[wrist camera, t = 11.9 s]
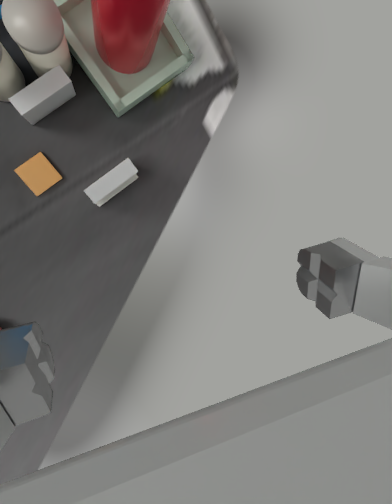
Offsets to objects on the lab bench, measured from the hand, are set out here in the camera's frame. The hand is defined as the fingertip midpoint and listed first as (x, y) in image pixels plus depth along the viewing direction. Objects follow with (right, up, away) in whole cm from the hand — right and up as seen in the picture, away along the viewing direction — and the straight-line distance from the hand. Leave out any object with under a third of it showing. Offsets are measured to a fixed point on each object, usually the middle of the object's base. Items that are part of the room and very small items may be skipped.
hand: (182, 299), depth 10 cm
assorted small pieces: (-9, +16, +21) cm, 28 cm away
